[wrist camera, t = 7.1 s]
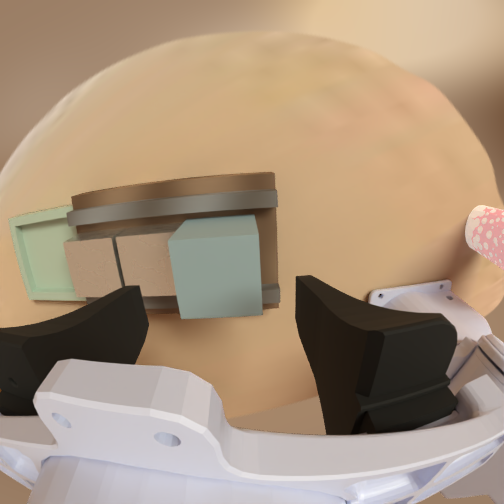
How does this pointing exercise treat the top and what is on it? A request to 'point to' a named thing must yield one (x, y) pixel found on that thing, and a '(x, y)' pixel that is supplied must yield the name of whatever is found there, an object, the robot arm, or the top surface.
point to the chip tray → (44, 253)
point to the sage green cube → (217, 267)
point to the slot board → (187, 217)
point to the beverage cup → (487, 233)
